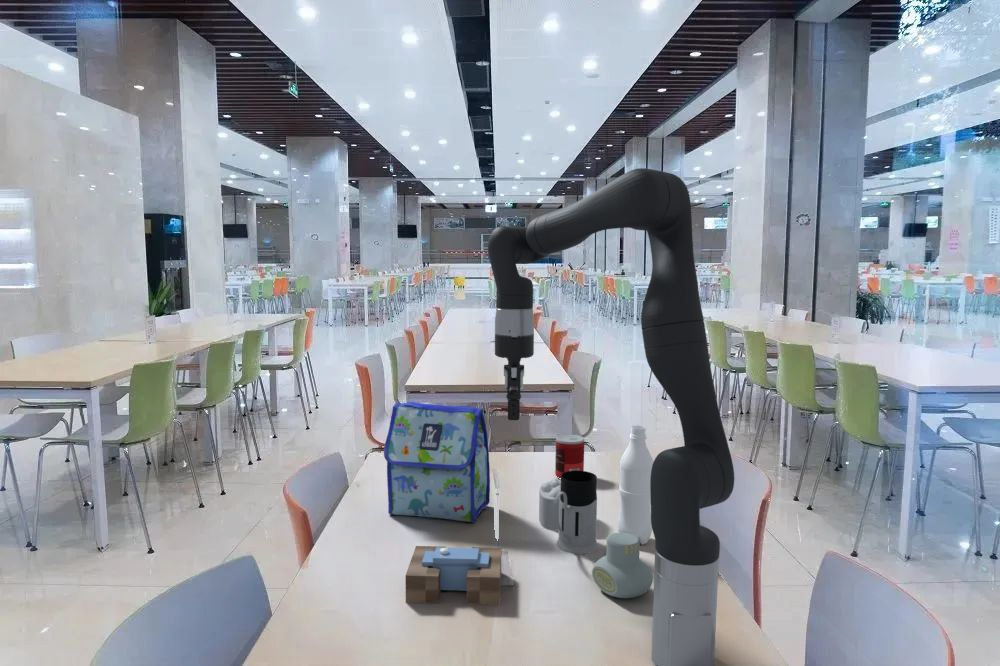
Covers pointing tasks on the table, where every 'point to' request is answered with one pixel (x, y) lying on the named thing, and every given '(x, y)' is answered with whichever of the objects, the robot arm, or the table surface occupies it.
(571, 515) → the glass holder
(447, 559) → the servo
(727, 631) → the table surface
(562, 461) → the canned food
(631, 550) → the air freshener
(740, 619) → the table surface
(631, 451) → the water bottle
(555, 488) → the lumpy-topped squat cylinder
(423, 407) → the lunch bag
